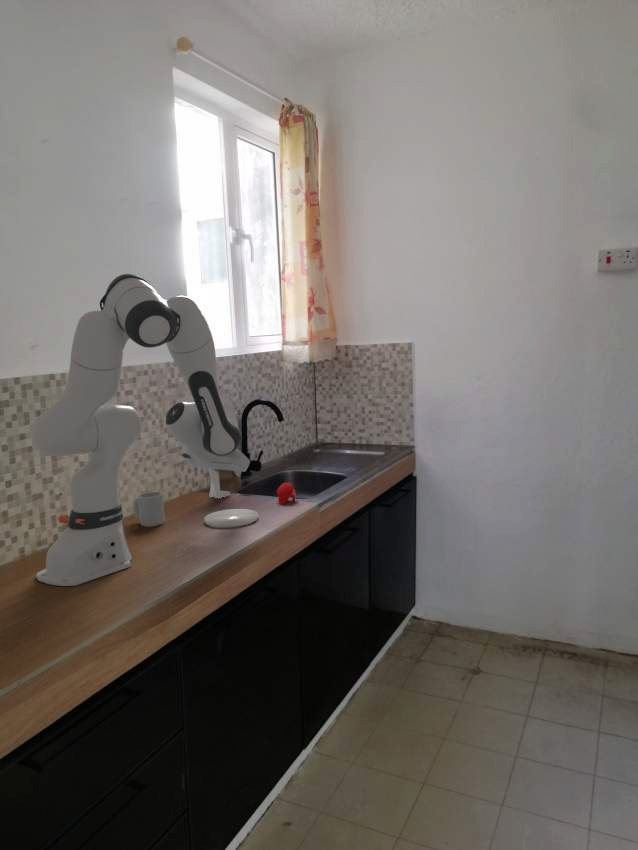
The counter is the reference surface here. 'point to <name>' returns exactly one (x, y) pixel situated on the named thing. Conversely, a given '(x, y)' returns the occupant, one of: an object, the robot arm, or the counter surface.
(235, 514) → the plate
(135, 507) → the cup
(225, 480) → the walnut block
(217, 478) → the skyscraper
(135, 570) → the counter surface
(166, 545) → the counter surface
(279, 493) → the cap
